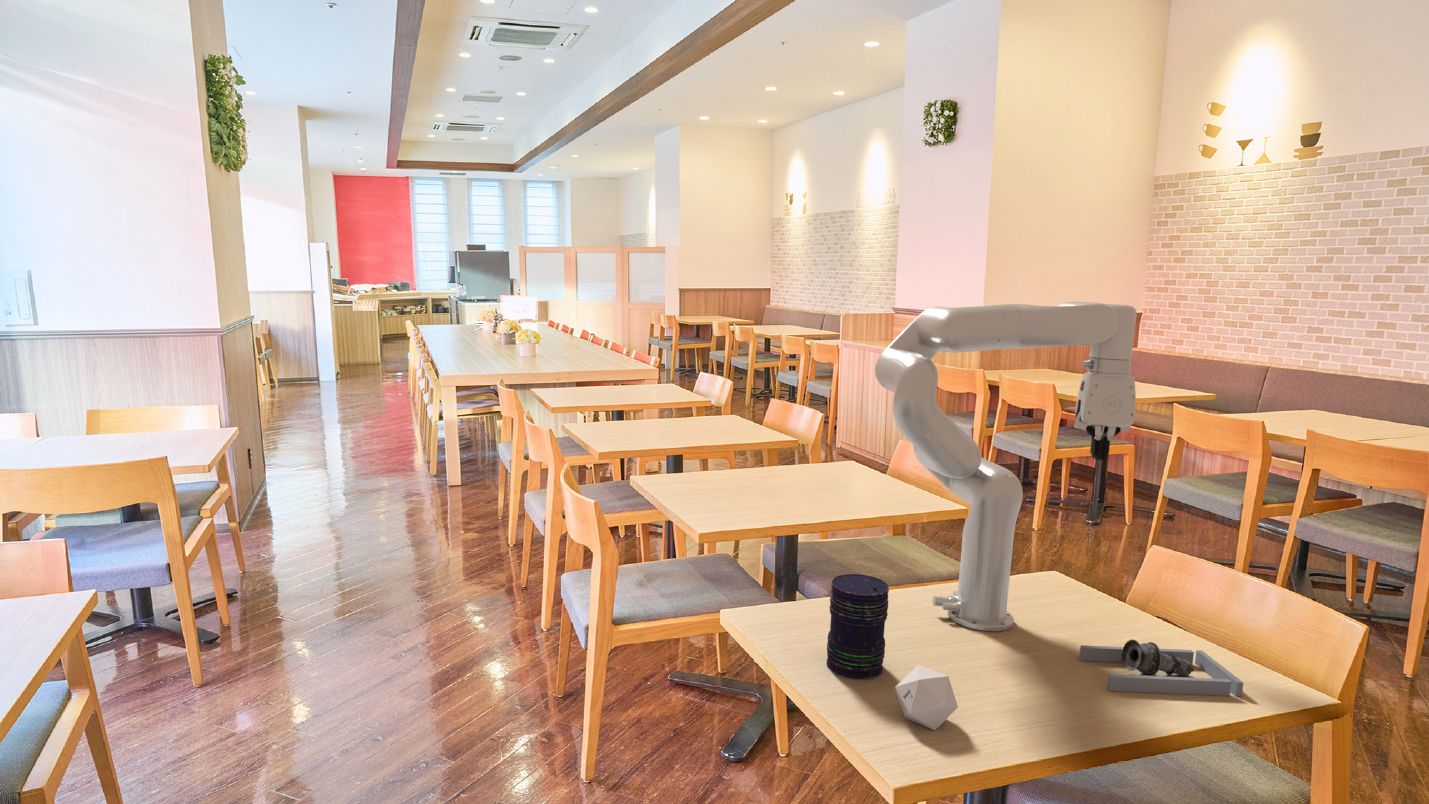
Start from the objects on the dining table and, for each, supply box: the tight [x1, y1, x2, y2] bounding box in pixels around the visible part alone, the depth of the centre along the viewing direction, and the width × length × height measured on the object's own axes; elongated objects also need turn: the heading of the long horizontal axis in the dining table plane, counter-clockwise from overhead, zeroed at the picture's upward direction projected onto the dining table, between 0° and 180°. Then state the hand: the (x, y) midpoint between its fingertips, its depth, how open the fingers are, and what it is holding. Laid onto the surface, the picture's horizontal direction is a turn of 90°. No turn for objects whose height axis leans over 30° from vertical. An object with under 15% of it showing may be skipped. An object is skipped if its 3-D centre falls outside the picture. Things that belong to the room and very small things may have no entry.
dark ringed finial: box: [1121, 639, 1195, 677], centre depth 144 cm, size 6×6×12 cm
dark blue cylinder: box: [826, 573, 890, 681], centre depth 141 cm, size 10×10×15 cm
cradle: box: [1078, 644, 1244, 698], centre depth 143 cm, size 22×12×2 cm, turn 90°
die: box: [894, 664, 959, 731], centre depth 125 cm, size 8×9×10 cm
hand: (1098, 458), depth 164 cm, fingers closed
